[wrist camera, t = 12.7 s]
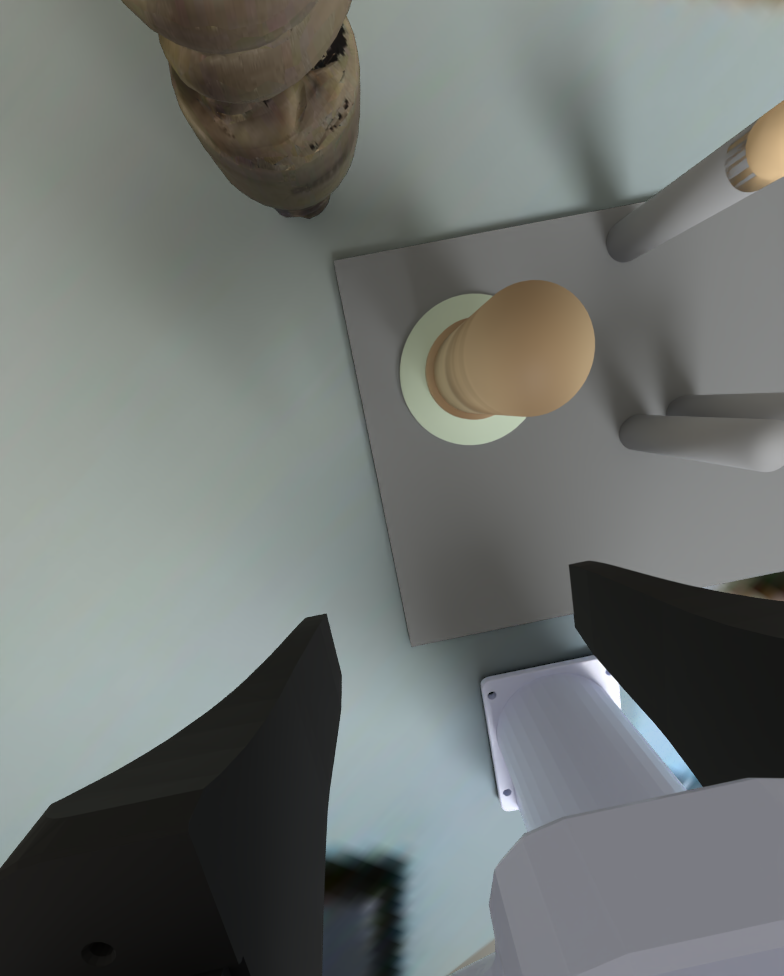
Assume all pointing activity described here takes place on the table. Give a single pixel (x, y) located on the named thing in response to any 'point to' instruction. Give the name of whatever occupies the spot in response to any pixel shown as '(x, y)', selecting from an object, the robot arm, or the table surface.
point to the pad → (416, 383)
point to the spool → (513, 354)
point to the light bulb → (266, 91)
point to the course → (595, 401)
